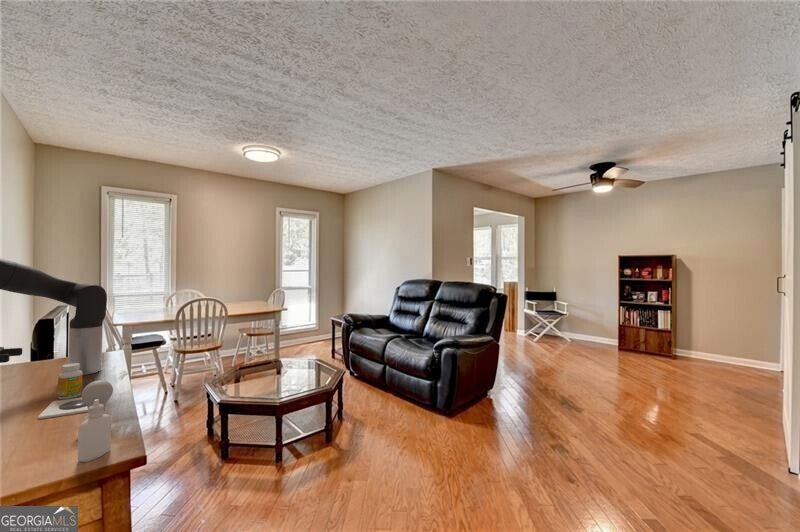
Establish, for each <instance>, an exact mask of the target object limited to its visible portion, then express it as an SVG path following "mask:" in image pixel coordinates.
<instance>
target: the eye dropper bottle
mask: <svg viewBox="0 0 800 532" xmlns="http://www.w3.org/2000/svg"><path fill="white" fill-rule="evenodd" d="M103 410H104V405H103V404H100V403H99V399H96V400H94V403H93V405H92V406H90V407H89V412H87V413H88V415H87V416H88V417H87V418H86V419H85V420H84V421H82V423H81V424H79V427H78V440H77V443H78V444H77V461H78V462H81V463H82V462H83V463H88V462H91V461H93V460H96V459H98V458H100V457H103V456H104V455H105V454H106V452H107V453H108V452H109V451H110V449H111V446H112V445H111V443H112V440H111V439H112V416H111V415H110V414H106V413H105V414H103Z"/></svg>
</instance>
